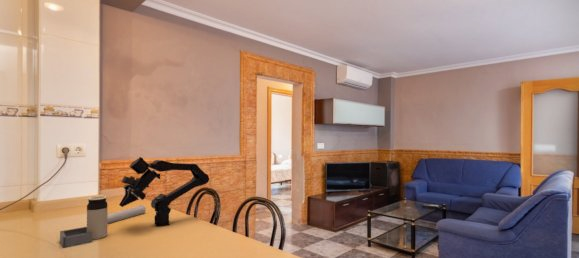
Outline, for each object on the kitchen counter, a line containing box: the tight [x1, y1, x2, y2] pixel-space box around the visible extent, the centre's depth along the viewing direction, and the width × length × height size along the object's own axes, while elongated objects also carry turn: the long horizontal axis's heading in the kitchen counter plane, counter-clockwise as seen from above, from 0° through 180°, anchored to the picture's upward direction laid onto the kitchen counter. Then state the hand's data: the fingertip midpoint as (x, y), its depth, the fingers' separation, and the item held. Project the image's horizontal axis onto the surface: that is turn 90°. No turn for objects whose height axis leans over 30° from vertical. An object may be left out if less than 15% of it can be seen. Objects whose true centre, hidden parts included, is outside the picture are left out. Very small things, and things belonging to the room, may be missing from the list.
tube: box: [107, 204, 147, 225], centre depth 170 cm, size 5×5×25 cm
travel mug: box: [86, 195, 108, 241], centre depth 139 cm, size 8×8×18 cm
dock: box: [59, 226, 93, 249], centre depth 134 cm, size 10×12×4 cm
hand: (120, 205), depth 145 cm, fingers open, 2 cm apart
